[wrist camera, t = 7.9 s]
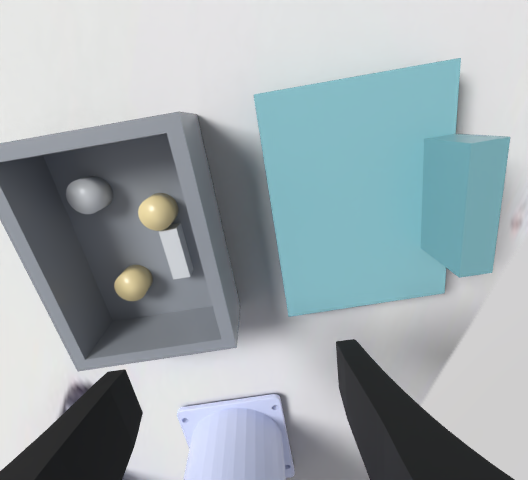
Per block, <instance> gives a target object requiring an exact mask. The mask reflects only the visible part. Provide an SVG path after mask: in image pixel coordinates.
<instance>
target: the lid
mask: <svg viewBox="0 0 528 480" xmlns="http://www.w3.org/2000/svg"><path fill="white" fill-rule="evenodd" d="M460 63H461V58H458V59H452V60H446V61H441V62H435V63H429V64H424V65H418V66H412V67H407V68H401V69H396V70H390V71H384V72H379V73H373V74H367V75H362V76H356V77H350V78H345V79H339V80H334V81H328V82H322V83H317V84H311V85H305V86H300V87H294V88H288V89H283V90H277V91H272V92H266V93H260V94H255V95H254V101H255V107H256V113H257V120H258V126H259V132H260V139H261V145H262V151H263V158H264V164H265V170H266V177H267V183H268V189H269V196H270V202H271V208H272V215H273V221H274V227H275V234H276V240H277V246H278V253H279V259H280V265H281V272H282V278H283V284H284V291H285V297H286V303H287V310H288V316H289V317H291V316H297V315H304V314H311V313H317V312H324V311H330V310H337V309H344V308H350V307H357V306H363V305H370V304H377V303H383V302H390V301H397V300H403V299H410V298H416V297H423V296H430V295H436V294H443V293H445V279H446V268H447V269H449V270H450V271H451V272H453V273H454V274H455V275H457V276H458V277H459V278H460V277H466V276H473V275H480V274H486V273H492V271H493V263H494V256H495V248H496V241H497V233H498V226H499V218H500V211H501V203H502V196H503V188H504V181H505V173H506V166H507V158H508V151H509V143H510V137H504V136H486V135H468V134H456V121H457V106H458V92H459V77H460Z"/></svg>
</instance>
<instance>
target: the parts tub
mask: <svg viewBox="0 0 528 480" xmlns="http://www.w3.org/2000/svg"><path fill="white" fill-rule="evenodd" d="M0 220H1V222H2V224H3V226H4V228H5V230H6V232H7V234H8V236H9V238H10V240H11V242H12V244H13V246H14V248H15V250H16V251H17V253H18V255H19V257H20V259H21V261H22V263H23V265H24V267H25V269H26V271H27V273H28V275H29V277H30V279H31V281H32V283H33V285H34V287H35V289H36V291H37V293H38V295H39V297H40V299H41V301H42V302H43V304H44V306H45V308H46V310H47V312H48V314H49V316H50V318H51V320H52V322H53V324H54V326H55V328H56V330H57V332H58V334H59V336H60V338H61V340H62V342H63V344H64V346H65V348H66V350H67V351H68V353H69V355H70V357H71V359H72V361H73V363H74V365H75V367H76V369H77V371H83V370H90V369H97V368H103V367H110V366H117V365H124V364H130V363H137V362H144V361H150V360H157V359H164V358H170V357H177V356H184V355H191V354H197V353H204V352H211V351H217V350H224V349H231V348H237V339H238V327H239V315H240V303H239V298H238V294H237V289H236V285H235V280H234V276H233V272H232V267H231V263H230V258H229V254H228V249H227V245H226V241H225V236H224V232H223V227H222V223H221V218H220V214H219V210H218V205H217V201H216V196H215V192H214V187H213V183H212V179H211V174H210V170H209V165H208V161H207V156H206V152H205V148H204V143H203V139H202V134H201V130H200V125H199V121H198V117H197V114H192V113H185V112H174V113H169V114H163V115H157V116H152V117H146V118H140V119H135V120H129V121H124V122H118V123H112V124H107V125H101V126H95V127H90V128H84V129H78V130H73V131H67V132H62V133H56V134H50V135H45V136H39V137H33V138H28V139H22V140H17V141H11V142H5V143H0Z"/></svg>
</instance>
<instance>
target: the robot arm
mask: <svg viewBox="0 0 528 480" xmlns="http://www.w3.org/2000/svg"><path fill="white" fill-rule="evenodd" d="M336 350H337V365H338V380H339V389H340V393H341V397H342V401H343V405H344V408H345V412H346V416H347V419H348V422H349V425H350V427H351V430H352V433H353V435H354V438H355V441H356V443H357V446H358V449H359V451H360V454H361V457H362V459H363V462H364V465H365V467H366V470H367V473H368V475H369V478H370V480H514V479H513V478H511V477H510V476H508V475H507V474H505V473H504V472H503V471H501V470H500V469H498V468H497V467H496V466H494V465H493V464H491V463H490V462H488V461H487V460H486V459H485V458H483V457H482V456H481V455H479V454H478V453H477V452H475V451H474V450H473V449H471V448H470V447H468V446H467V445H466V444H465V443H464V442H462V441H461V440H460V439H459V438H457V437H456V436H455V435H453V434H452V433H451V432H450V431H448V430H447V429H446V428H445V427H443V426H442V425H441V424H440V423H439V422H438V421H436V420H435V419H434V418H433V417H432V416H430V414H428V413H427V412H426V411H425V410H424V409H423V408H422V407H421V406H419V405H418V404H417V403H416V402H415V401H414V400H413V399H412V398H411V397H410V396H409V395H408V394H406V393H405V392H404V391H403V390H402V389H401V388H400V387H399V386H398V385H397V384H396V383H395V382H394V381H393V380H392V379H391V378H390V377H389V376H388V375H387V374H386V373H385V372H384V371H383V370H382V369H381V368H380V366H379V365H378V364H377V363H376V362H375V361H374V360H373V359H372V358H371V357H370V356H369V355H368V353H367V352H366V351H365V350H364V349H363V348H362V347H361V345H360V344H359V343H358V342H357V341H356V340H354V339H353V340H345V341H338V342H336ZM274 405H276V406H274ZM142 413H143V412H142V410H141V407H140V405H139V402H138V400H137V397H136V395H135V392H134V390H133V387H132V385H131V382H130V380H129V377H128V375H127V372H126V370H118V371H110V372H107V373H106V374H105V375H104V376H103V377H102V378H100V379H99V380H98V381H97V382H96V383H95V384H94V385H93V386H92V387H91V388H90V389H89V390H88V391H87V392H86V393H85V394H84V395H83V396H81V397H80V398H79V399H78V400H77V401H76V402H75V403H74V404H73V405H72V406H71V407H70V408H69V409H68V410H67V411H66V412H65V413H64V414H63V415H62V416H61V417H60V418H59V419H57V420H56V421H55V422H54V423H53V424H52V425H51V426H50V427H49V428H48V429H47V430H46V431H45V432H44V433H43V434H41V435H40V436H39V437H38V438H37V439H36V440H35V441H34V442H33V443H32V444H30V445H29V446H28V447H27V448H26V449H25V450H24V451H23V452H22V453H20V454H19V455H18V456H17V457H16V458H15V459H14V460H13V461H12V462H10V463H9V464H8V465H7V466H6V467H5V468H4V469H2V470H1V471H0V480H122V478H123V475H124V473H125V470H126V467H127V465H128V462H129V459H130V457H131V454H132V451H133V448H134V445H135V441H136V438H137V434H138V430H139V426H140V422H141V417H142ZM177 417H178V420H179V422H180V425H181V427H182V430H183V433H184V435H185V438H186V441H187V443H188V446H189V449H190V450H189V455H188V460H187V465H186V470H185V475H184V480H286V478H290V477H293V476H294V474H295V471H294V465H293V460H292V455H291V450H290V445H289V439H288V434H287V429H286V424H285V419H284V414H283V408H282V403H281V398H280V396H279V395H277V394H270V395H263V396H256V397H249V398H242V399H235V400H228V401H221V402H214V403H207V404H200V405H193V406H186V407H181V408H180V409H179V410H178V413H177Z"/></svg>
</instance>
